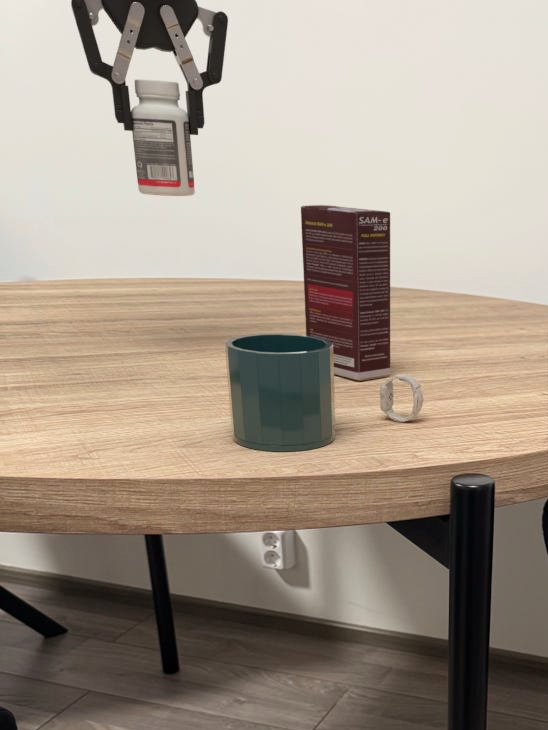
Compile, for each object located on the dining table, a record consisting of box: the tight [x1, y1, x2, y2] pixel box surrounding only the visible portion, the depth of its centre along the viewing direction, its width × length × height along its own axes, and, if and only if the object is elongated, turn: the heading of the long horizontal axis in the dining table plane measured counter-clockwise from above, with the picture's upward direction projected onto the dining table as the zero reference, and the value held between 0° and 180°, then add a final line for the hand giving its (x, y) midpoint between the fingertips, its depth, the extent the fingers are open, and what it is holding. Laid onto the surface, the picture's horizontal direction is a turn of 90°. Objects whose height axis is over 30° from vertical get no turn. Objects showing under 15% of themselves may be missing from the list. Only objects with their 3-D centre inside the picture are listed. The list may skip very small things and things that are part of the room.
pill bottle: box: [131, 79, 196, 197], centre depth 91 cm, size 5×5×10 cm
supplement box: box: [300, 204, 391, 382], centre depth 96 cm, size 9×5×16 cm, turn 48°
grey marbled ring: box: [379, 373, 425, 423], centre depth 83 cm, size 4×2×4 cm, turn 73°
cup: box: [224, 333, 336, 452], centre depth 76 cm, size 8×8×8 cm
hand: (161, 131), depth 91 cm, fingers closed on pill bottle, 5 cm apart
